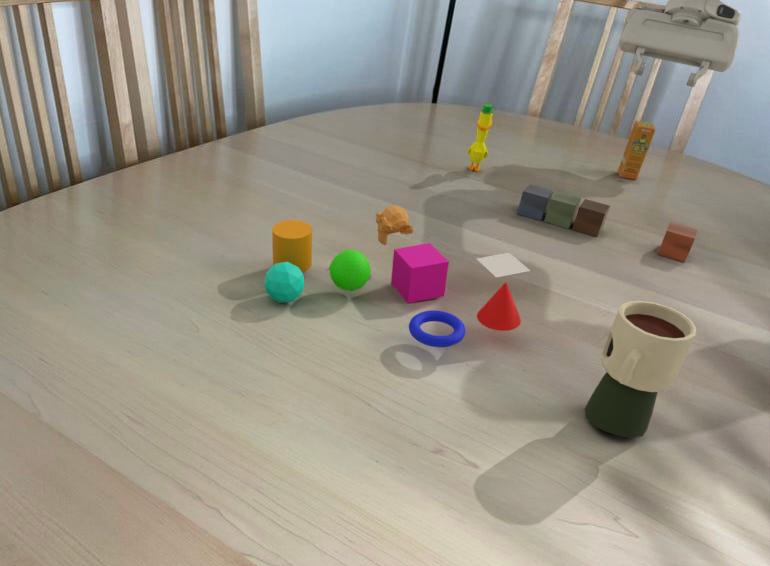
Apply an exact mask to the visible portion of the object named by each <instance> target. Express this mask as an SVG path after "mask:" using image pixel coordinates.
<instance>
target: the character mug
mask: <svg viewBox="0 0 770 566" xmlns="http://www.w3.org/2000/svg"><path fill="white" fill-rule="evenodd" d="M608 333H609V334H608V336H607V339H606V341H605V344H604V346H603V349H602V352H601V355H600V363H601V365H602V368H604V370H605V373H604V375H603V376H602V378H601V379H600V381H599V382H598V384H597V385H596V387H595V389H594V390H593V392H592V394H591V395H590V398H589V400H588V401H587V403H586V405H585V407H584V415H585V418H586V419H587V420H588V422H589V423H590V424H591V425H592V426H593V427H595V428H598V429H600V430H601V431H603V432H606V433H609V434H611V435H612V434H613V435H614V436H618V437H623V438H629V439H635V438H636V439H637V438H640V437H644V435H645V434H646V432H647V431H648V428H649V426H650V422H651V419H652V416H653V413H654V409H655V404H656V401H657V398H658V397H657V396H658V393H659V392H665V391H666V390H668V389H670V388H671V387H673V385H674V383H675V381H676V379H677V377H678V375H679V373H680V370H681V368H682V367H683V364H684V362H685V360H686V357H687V355H688V353H689V351H690V349H691V347H692V345H693V342H694V340H695V337H696V335H697V327H696V325H695V324H694V322H693V321H692V320H691V319H690V318H689V317H688V316H687V315H685V314H684V313H682V312H680V311H678V310H676V309H675V308H673V307H670V306H668V305H664V304H661V303H657V302H652V301H646V300H645V301H644V300H632V301H627V302H624V303H623V304H621V305H620V306H619V308H618V311H617V313H616V315H615V317H614V320H613V323H612V326H611V328H610V331H609V332H608Z"/></svg>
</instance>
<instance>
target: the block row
mask: <svg viewBox="0 0 770 566" xmlns="http://www.w3.org/2000/svg"><path fill="white" fill-rule="evenodd" d="M520 197H521V198H520V201H519V204H518V208H517V212H516V214H517V215H520V216H523V217H527V218H531V219H533V220H537V221H542V220H543V219H544V220H543V223H546V224H550V225H554V226H558V227H561V228H563V229H567V230H568V229H570V228H571V226H572V228H571V230H572V231H574V232H579V233H581V234H585V235H588V236H592V237H596V238H598V236H599V235H600V234H601V231H602V230H603V228H604V226H605V222H606V219H607V216H608V214H609V211H610V208H611V205H609V204H605V203H602V202H599V201H594V200H591V199H587V198H584V200H583V201H582V199H583V198H582V197H581V196H576V195H572V194H569V193H565V192H562V191H558V190H556V191H555V193H554V190H553V189H550V188H546V187H542V186H539V185H535V184H533V183H530V184H528V185H527V186H526V187H525V189H524V190H523V191H522V193H521V196H520ZM581 201H582V202H581ZM664 233H665V234H664V236H663V238H662V241H661V244H660V246H659V249H658V252H657V255H658V256H661V257H665V258H668V259H672V260H675V261H679V262H682V263H686V262H687V259H688V256H689V254H690V252H691V250H692V247H693V244H694V242H695V241H696V237H697V234H698V228H695V227H691V226H687V225H684V224H679V223H676V222H672V221H670V222H669V223H668V226H667V229H666V231H665V232H664Z"/></svg>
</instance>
